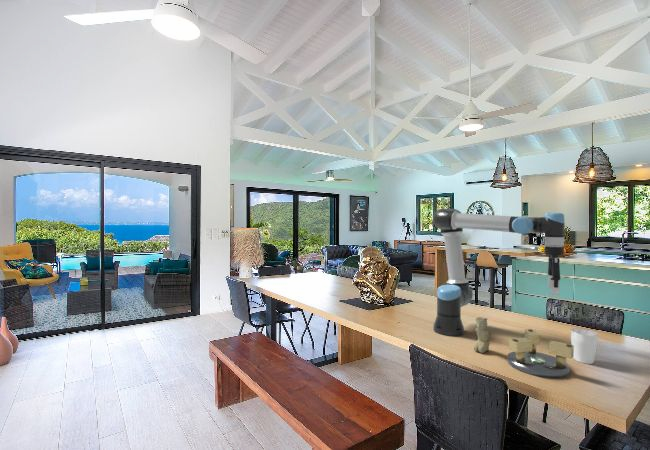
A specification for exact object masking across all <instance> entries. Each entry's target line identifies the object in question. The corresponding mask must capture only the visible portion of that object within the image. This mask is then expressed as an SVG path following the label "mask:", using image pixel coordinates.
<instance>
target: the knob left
mask: <svg viewBox="0 0 650 450" xmlns="http://www.w3.org/2000/svg"><path fill="white" fill-rule="evenodd" d="M508 349H509V350H510V351H511V352H516V362H517V363H520V364H524V363H525V352H531V351H532V341H531V340H528V339H526V338H525V337H518V338H517V337H515V338H509V339H508Z"/></svg>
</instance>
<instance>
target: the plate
mask: <svg viewBox="0 0 650 450" xmlns="http://www.w3.org/2000/svg"><path fill="white" fill-rule="evenodd" d="M507 363H508V365H509V366H511V367H512V368H514V369H515V370H517V371H519V372H521V373H525V374H527V375H530V376H535V377H540V378H547V379H563V378H567V377H568V376H569V375H570V365H569V364H568V363H567V362H566V368H565V369H563V368H558V367H557V366H556V356H554V355H551V354H547V353H541V352H537V351H536V354H529V353H528V352H525V363H524V364H520V363H517V362H516V352H514V351H511V352H509V353H508V354H507ZM562 377H563V378H562Z"/></svg>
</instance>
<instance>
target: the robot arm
mask: <svg viewBox="0 0 650 450" xmlns="http://www.w3.org/2000/svg"><path fill="white" fill-rule="evenodd" d="M432 222H433V225H434V226H435V227H436V228H437V229H439V230H440V234H441V236H443V240H444V248H445V249H444V250H445V258H446V267H447V274H448V280H447V281H446V282H445V283H446V284H442V285H440V286H438V287H437V290H436V291H437V292H436V317H435V320H434V322H433V332H435V333H437V334H440V335H442V336H443V335H444V336H453V337H457V336H458V337H459V336H463V335H464V334H465V327H464V324H463V321H462V316H461V315H462V314H461V313H462V307H465V306H467V305H469V304H470V303H471V301H472V299H473V296H474V293H473V290H472V288H471V287H470V282H469V280H468V279H467V278H466V275H465V274H466V273H465V266H464V265H465V264H464V256H463V255H464V254H463V247H462V238H461V236H462V234H463V231H464V230H463V229H468V230H469V229H471V230H481V231H493V232H504V233H512V234H513V233H514V234H521V235H527V234H544V244H543V245H545V246H544V254H545V255H548V260H547V261H548V266H547V267H548V269H547V290H551V295H553V296H554V295H555V296H560V281H561V269H560V263H561V262H560V257H558V256H564V255H565V248H564V245H565V242H566V240H567V239H565V214H564V213H562V212H546V213H545V214H544V216H541V217H537V216H533V217H532V216H513V215H512V216H511V215H510V216H509V215H497V214H496V215H495V214H480V213H479V214H478V213H467V212H466V213H462V212H461V211H460V210H458V209H457V208H456V209H455V208H444V207H443V208H440V209H437V210H436V211H435V212H434V214H433V216H432Z"/></svg>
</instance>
